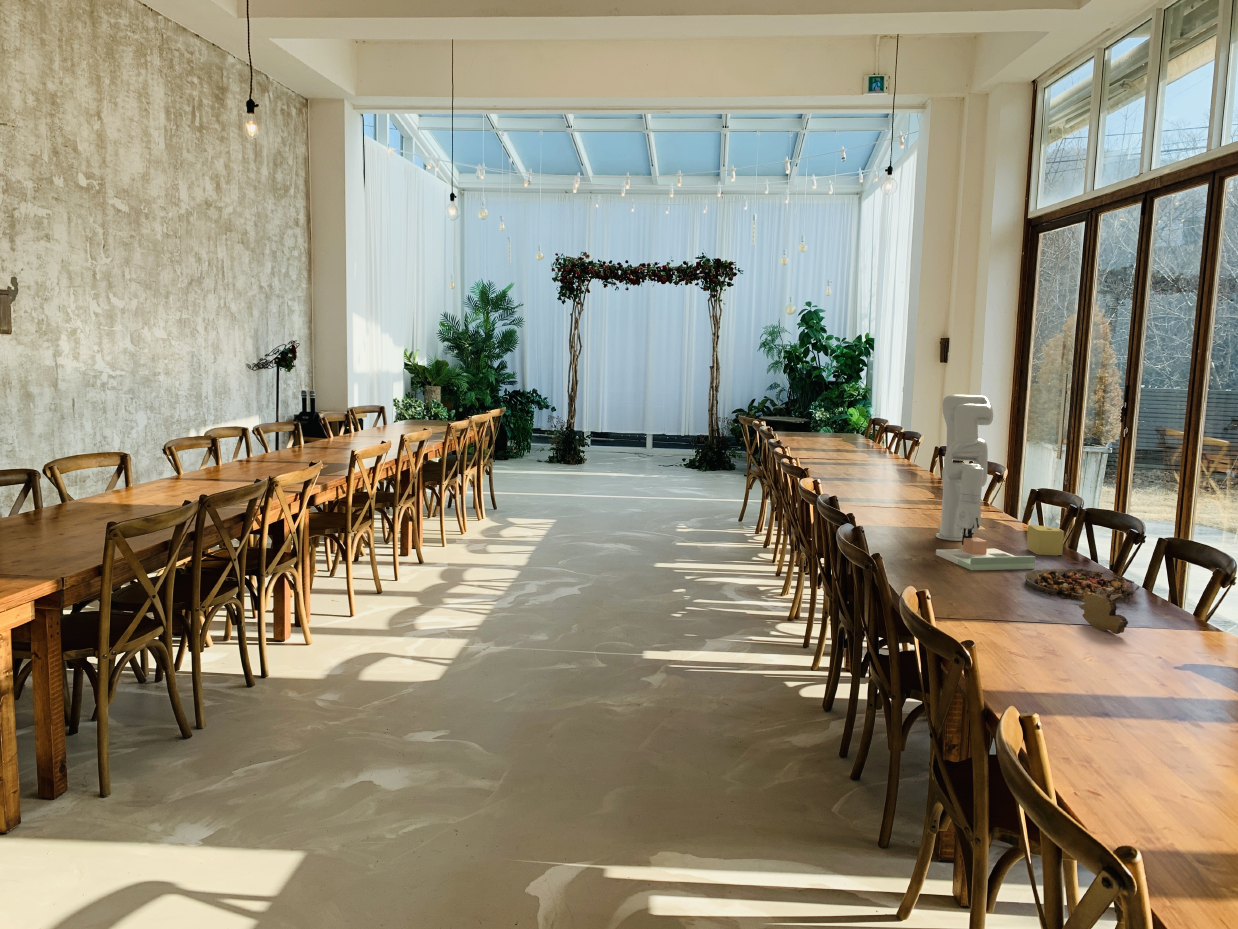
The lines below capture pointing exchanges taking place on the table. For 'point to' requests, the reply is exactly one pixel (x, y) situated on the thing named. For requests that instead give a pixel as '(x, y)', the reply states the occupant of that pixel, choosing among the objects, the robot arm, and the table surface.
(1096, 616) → the wooden carving
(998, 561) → the board
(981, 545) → the block
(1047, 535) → the cheese
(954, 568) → the table surface
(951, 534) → the robot arm
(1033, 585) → the food dish
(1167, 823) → the table surface
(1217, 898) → the table surface
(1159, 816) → the table surface
